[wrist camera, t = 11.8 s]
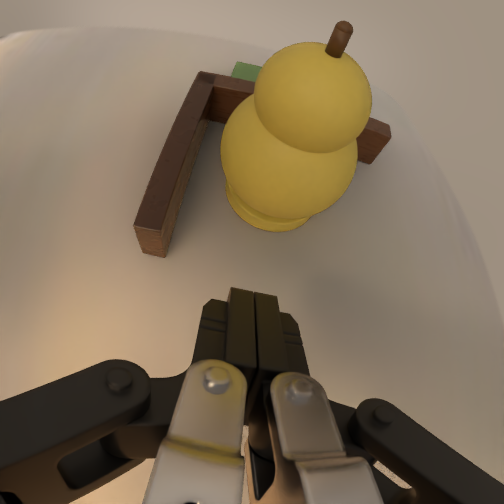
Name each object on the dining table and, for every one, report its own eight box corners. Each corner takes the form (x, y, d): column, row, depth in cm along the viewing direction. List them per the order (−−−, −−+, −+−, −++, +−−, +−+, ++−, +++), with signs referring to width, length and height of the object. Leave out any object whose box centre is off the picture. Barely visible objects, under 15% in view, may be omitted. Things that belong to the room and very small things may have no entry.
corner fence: (142, 253, 15) (132, 226, 12) (196, 105, 19) (198, 70, 16) (372, 301, 16) (404, 286, 13) (369, 151, 20) (389, 124, 18)
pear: (203, 229, 16) (230, 37, 6) (225, 136, 18) (260, -27, 9) (324, 253, 17) (456, 116, 7) (325, 160, 19) (408, 22, 9)
